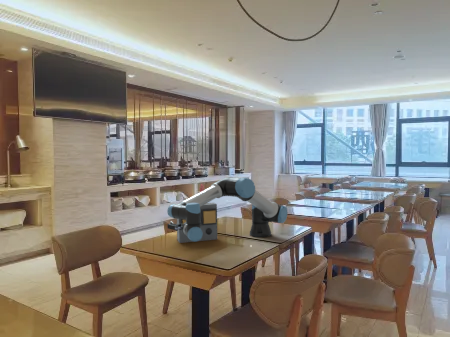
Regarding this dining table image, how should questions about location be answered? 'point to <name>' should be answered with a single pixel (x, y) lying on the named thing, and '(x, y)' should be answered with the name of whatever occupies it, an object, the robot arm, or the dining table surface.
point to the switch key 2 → (209, 216)
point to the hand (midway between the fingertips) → (182, 222)
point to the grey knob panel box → (207, 229)
